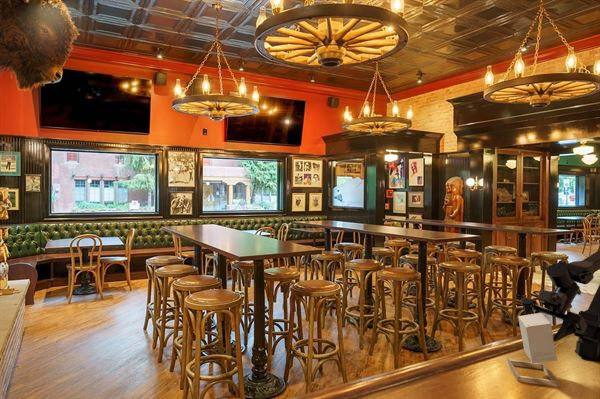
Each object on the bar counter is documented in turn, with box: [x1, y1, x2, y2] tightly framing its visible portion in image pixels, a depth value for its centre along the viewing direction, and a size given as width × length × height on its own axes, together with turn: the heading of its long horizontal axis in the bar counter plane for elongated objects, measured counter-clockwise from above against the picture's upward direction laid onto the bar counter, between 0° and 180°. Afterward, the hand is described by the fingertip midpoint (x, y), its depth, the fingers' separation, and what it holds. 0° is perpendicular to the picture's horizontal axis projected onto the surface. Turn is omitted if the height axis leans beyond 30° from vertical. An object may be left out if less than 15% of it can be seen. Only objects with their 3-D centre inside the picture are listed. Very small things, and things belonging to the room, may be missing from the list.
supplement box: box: [517, 312, 558, 364], centre depth 129 cm, size 7×7×13 cm
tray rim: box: [505, 358, 561, 388], centre depth 129 cm, size 12×12×2 cm
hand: (538, 334), depth 129 cm, fingers closed on supplement box, 9 cm apart
